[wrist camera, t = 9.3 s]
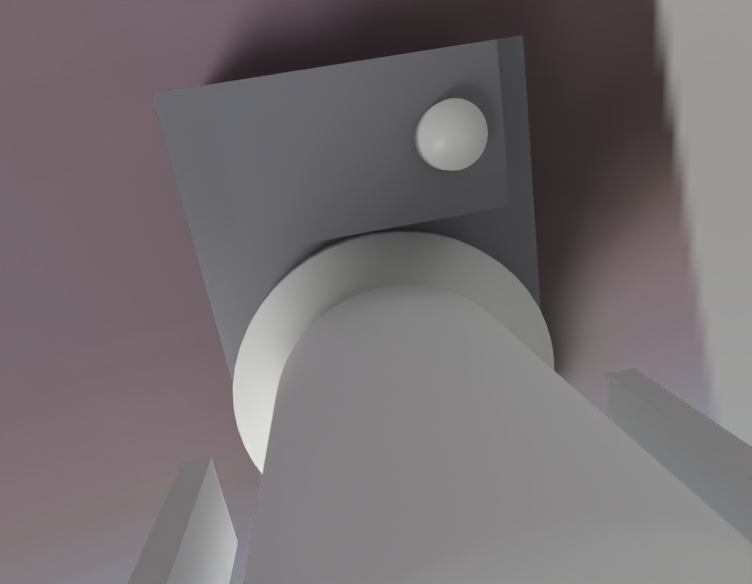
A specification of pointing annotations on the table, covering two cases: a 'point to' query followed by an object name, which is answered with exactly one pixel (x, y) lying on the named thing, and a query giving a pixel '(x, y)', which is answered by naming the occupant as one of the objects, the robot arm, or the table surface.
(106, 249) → the table surface
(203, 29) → the table surface
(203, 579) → the robot arm
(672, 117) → the table surface
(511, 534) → the beverage can
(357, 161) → the grey hot plate stirrer
